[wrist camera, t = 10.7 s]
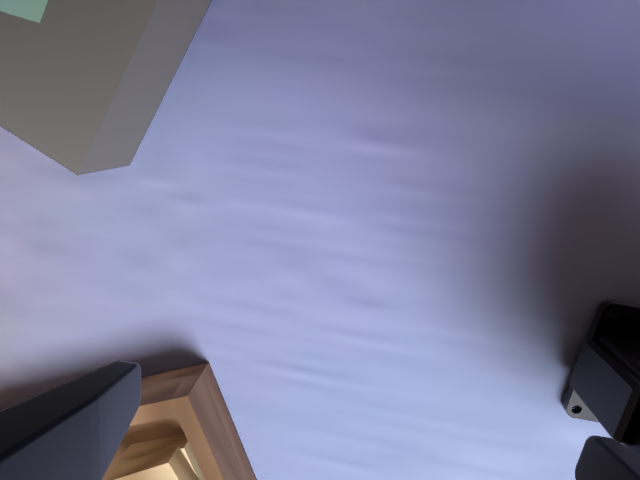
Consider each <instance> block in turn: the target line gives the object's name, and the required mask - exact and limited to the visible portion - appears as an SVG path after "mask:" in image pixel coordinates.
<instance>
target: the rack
mask: <svg viewBox="0 0 640 480" xmlns="http://www.w3.org/2000/svg"><path fill="white" fill-rule="evenodd" d="M4 409H6V408H4ZM1 410H3V409H0V411H1ZM181 434H185V436H186V438H187V440H188V443H189V445H190V447H191V449H192V452H193V454H194V456H195V458H196V461H197V463H198V465H199V467H200V470H201V472H202V474H203V476H204V479H205V480H256V477H255V475H254V472H253V470H252V467H251V465H250V462H249V460H248V458H247V455H246V453H245V450H244V448H243V445H242V443H241V440H240V438H239V436H238V433H237V431H236V428H235V426H234V423H233V421H232V418H231V416H230V413H229V411H228V409H227V406H226V404H225V401H224V399H223V396H222V394H221V391H220V389H219V386H218V384H217V382H216V379H215V377H214V374H213V372H212V369H211V367H210V364H209V362H208V363H204V364H200V365H195V366H191V367H186V368H182V369H177V370H173V371H168V372H164V373H160V374H155V375H151V376H146V377H142V378H141V401H140V405H139V408H138V410H137V412H136V414H135V416H134V418H133V420H132V422H131V424H130V426H129V428H128V430H127V432H126V434H125V436H124V438H123V440H122V442H121V444H120V446H119V448H118V450H117V452H116V454H115V456H114V458H113V460H112V462H111V464H110V466H109V468H108V469H107V471H106V473H105V475H104V477H103V479H102V480H107V479H108V478H109V476H110V475H111V473H112V472H113V471H114V469H115V468H116V466H117V465H118V464H121V463H120V461H119V460H120V459H121V457H122V456H123V454H124V453H125V452H126V450H127V449H128V447H129V446H130V445H131V444H135V443H140V442H145V441H150V440H155V439H161V438H166V437H171V436H176V435H181Z"/></svg>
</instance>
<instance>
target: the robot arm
mask: <svg viewBox="0 0 640 480" xmlns="http://www.w3.org/2000/svg"><path fill="white" fill-rule="evenodd" d="M611 309H614V311H613V313H612V314H610V315H607V314H608V311H609V310H611ZM569 384H570V386H569V389H568V391H567V394H566V397H565V400H564V402H563V407H564V410H565V411H566V412H567V414H568V415H569V416H570V417H573V418H578V419H584V420H589V421H595V422H600V424H601V425H602V426H603V428H604V429H605V430H606V431H607V433H608V434H609V435H610V436H611V438H607V437H600V436H590V437H589V438H588V439H587V440H586V442H585V444H584V447H583V450H582V452H581V455H580V457H579V460H578V463H577V465H576V469H575V478H576V480H640V305H635V304H629V303H623V302H617V301H605V302H603V303H602V304H600V306H599V307H598V309H597V312H596V315H595V318H594V320H593V323H592V326H591V329H590V331H589V334H588V337H587V339H586V340H585V341H584V342H583V345H582V348H581V351H580V353H579V356H578V359H577V362H576V364H575V367H574V370H573V373H572V375H571V378H570V381H569ZM140 401H141V367H140V365H139V364H138V363H135V362H128V361H122V360H120V361H116V362H114V363H112V364H109V365H107V366H105V367H102V368H100V369H98V370H95V371H93V372H90V373H88V374H86V375H83V376H81V377H79V378H76V379H74V380H72V381H69V382H67V383H65V384H62V385H60V386H58V387H55V388H53V389H50V390H48V391H46V392H43V393H41V394H39V395H36V396H34V397H32V398H29V399H27V400H25V401H22V402H20V403H17V404H15V405H13V406H10V407H8V408H6V409H3V410H1V411H0V480H102V479H103V477H104V475H105V473H106V471H107V469H108V468H109V466H110V464H111V462H112V460H113V458H114V456H115V454H116V452H117V450H118V448H119V446H120V444H121V442H122V440H123V438H124V436H125V434H126V432H127V430H128V428H129V426H130V424H131V422H132V420H133V418H134V416H135V414H136V412H137V410H138V408H139V405H140ZM577 405H578V406H577ZM574 406H577V408H575V409H572V408H573V407H574Z"/></svg>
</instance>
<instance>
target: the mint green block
mask: <svg viewBox="0 0 640 480" xmlns="http://www.w3.org/2000/svg"><path fill="white" fill-rule="evenodd" d="M47 2H48V0H0V11H1V12H5V13H8V14H11V15H14V16H18V17H21V18H24V19H28V20H31V21H34V22H38V23H40V21H41V18H42V15H43V13H44V10H45V7H46V5H47Z"/></svg>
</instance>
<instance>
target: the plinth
mask: <svg viewBox="0 0 640 480" xmlns="http://www.w3.org/2000/svg"><path fill="white" fill-rule="evenodd" d="M210 2H211V0H48V2H47V5H46V7H45V10H44V13H43V15H42V18H41V21H40V23H38V22H34V21H31V20H28V19H24V18H21V17H18V16H14V15H11V14H8V13H5V12H1V11H0V126H1V127H3V128H4V129H6V130H7V131H9V132H10V133H12V134H14V135H15V136H17V137H18V138H20V139H21V140H23V141H25V142H26V143H28V144H29V145H31V146H32V147H34V148H36V149H37V150H39V151H40V152H42V153H43V154H45V155H46V156H48V157H50V158H51V159H53V160H54V161H56V162H57V163H59V164H61V165H62V166H64V167H65V168H67V169H68V170H70V171H72V172H73V173H75V174H76V175H81V174H87V173H92V172H97V171H102V170H107V169H112V168H118V167H123V166H128V165H130V163H131V161H132V159H133V157H134V155H135V153H136V151H137V149H138V147H139V145H140V143H141V141H142V139H143V137H144V135H145V133H146V131H147V129H148V127H149V125H150V123H151V121H152V119H153V117H154V115H155V113H156V111H157V109H158V107H159V105H160V103H161V101H162V99H163V97H164V95H165V93H166V91H167V89H168V87H169V85H170V83H171V81H172V79H173V77H174V75H175V73H176V71H177V69H178V67H179V65H180V63H181V61H182V59H183V57H184V55H185V53H186V51H187V49H188V47H189V45H190V43H191V40H192V38H193V36H194V34H195V32H196V30H197V28H198V26H199V24H200V22H201V20H202V18H203V16H204V14H205V12H206V10H207V8H208V6H209V4H210Z"/></svg>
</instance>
